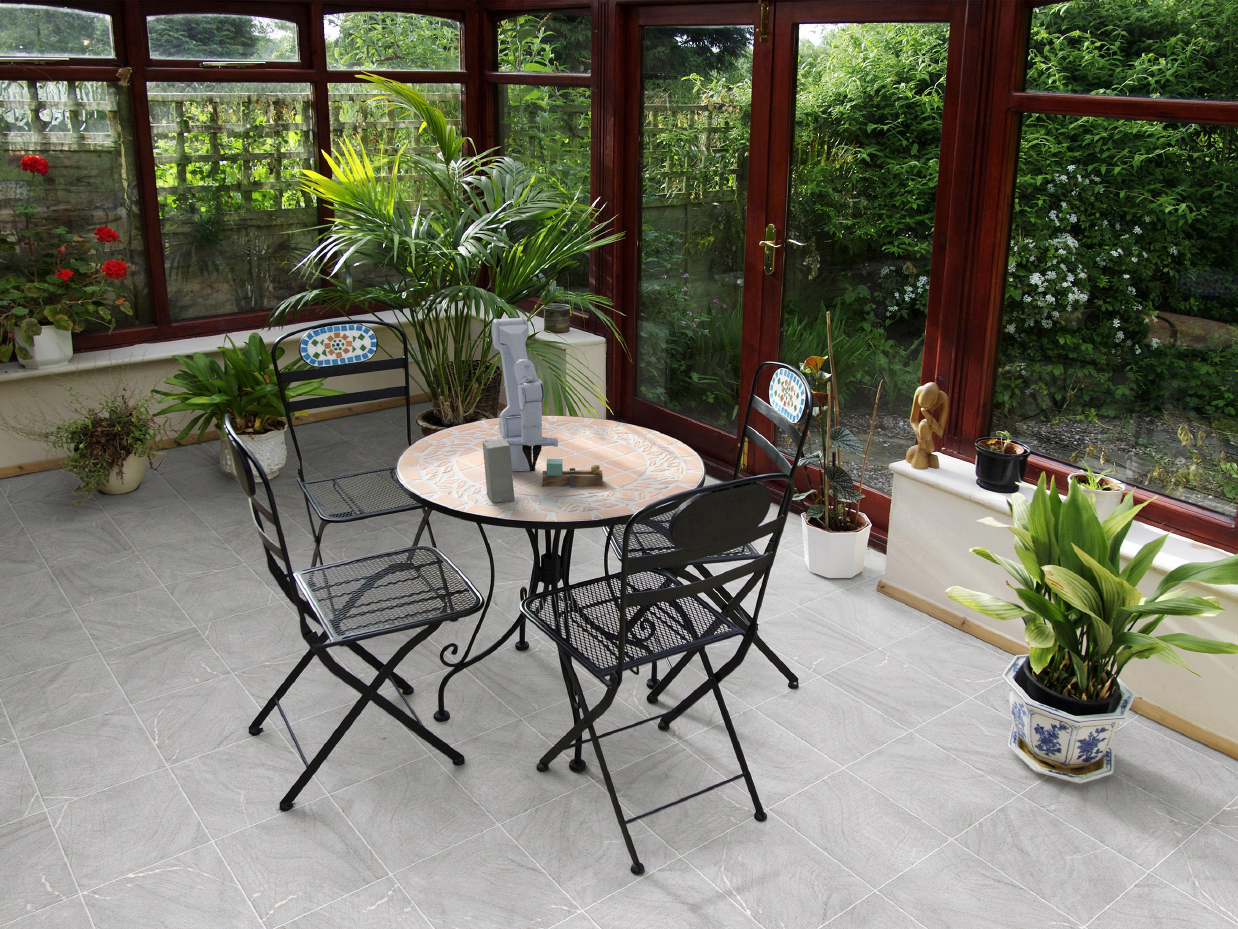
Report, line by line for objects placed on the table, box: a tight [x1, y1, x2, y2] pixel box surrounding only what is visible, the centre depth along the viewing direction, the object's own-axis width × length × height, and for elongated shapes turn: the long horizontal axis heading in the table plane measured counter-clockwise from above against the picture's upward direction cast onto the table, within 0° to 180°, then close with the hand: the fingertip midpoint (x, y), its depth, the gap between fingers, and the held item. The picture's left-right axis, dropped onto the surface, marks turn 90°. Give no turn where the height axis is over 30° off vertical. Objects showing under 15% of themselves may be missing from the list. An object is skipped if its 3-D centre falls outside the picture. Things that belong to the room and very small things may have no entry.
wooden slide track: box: [541, 464, 604, 488], centre depth 313 cm, size 17×7×5 cm, turn 92°
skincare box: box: [482, 438, 515, 504], centre depth 299 cm, size 8×7×16 cm
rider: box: [546, 458, 564, 476], centre depth 312 cm, size 4×4×5 cm
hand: (532, 470), depth 312 cm, fingers closed
